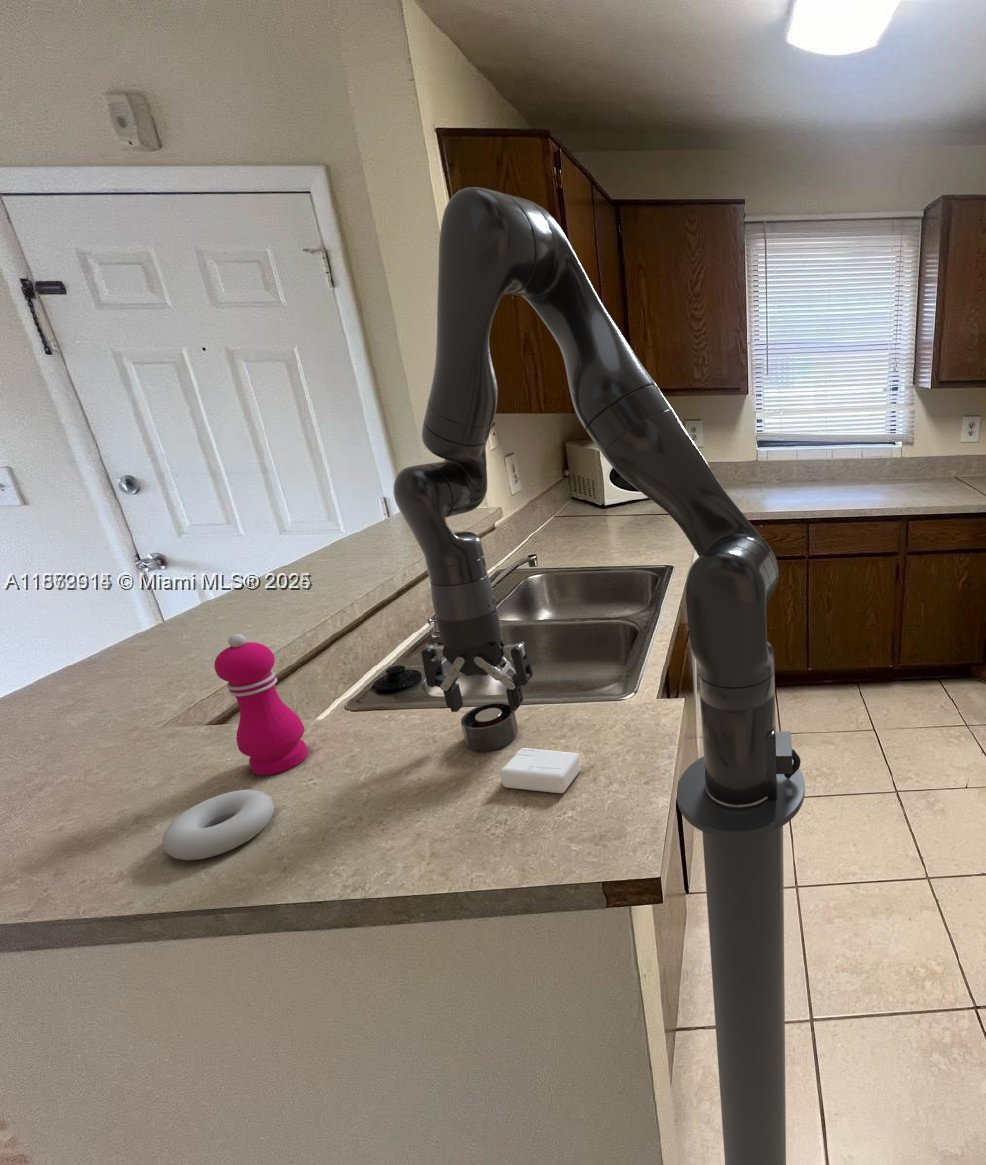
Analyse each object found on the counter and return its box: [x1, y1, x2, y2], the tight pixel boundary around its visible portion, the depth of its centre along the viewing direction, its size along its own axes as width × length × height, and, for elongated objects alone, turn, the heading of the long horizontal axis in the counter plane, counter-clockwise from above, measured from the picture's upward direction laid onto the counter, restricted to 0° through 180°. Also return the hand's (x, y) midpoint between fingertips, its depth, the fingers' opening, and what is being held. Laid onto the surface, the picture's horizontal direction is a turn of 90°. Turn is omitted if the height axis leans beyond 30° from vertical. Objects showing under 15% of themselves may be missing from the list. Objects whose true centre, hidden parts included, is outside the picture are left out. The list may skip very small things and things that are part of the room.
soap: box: [499, 747, 582, 794], centre depth 80 cm, size 9×6×3 cm, turn 81°
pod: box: [475, 708, 502, 728], centre depth 88 cm, size 4×4×4 cm
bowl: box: [460, 701, 519, 753], centre depth 89 cm, size 7×7×4 cm
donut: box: [162, 789, 275, 861], centre depth 71 cm, size 10×4×10 cm
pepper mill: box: [213, 633, 309, 776], centre depth 81 cm, size 7×7×20 cm
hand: (486, 708), depth 87 cm, fingers open, 8 cm apart
